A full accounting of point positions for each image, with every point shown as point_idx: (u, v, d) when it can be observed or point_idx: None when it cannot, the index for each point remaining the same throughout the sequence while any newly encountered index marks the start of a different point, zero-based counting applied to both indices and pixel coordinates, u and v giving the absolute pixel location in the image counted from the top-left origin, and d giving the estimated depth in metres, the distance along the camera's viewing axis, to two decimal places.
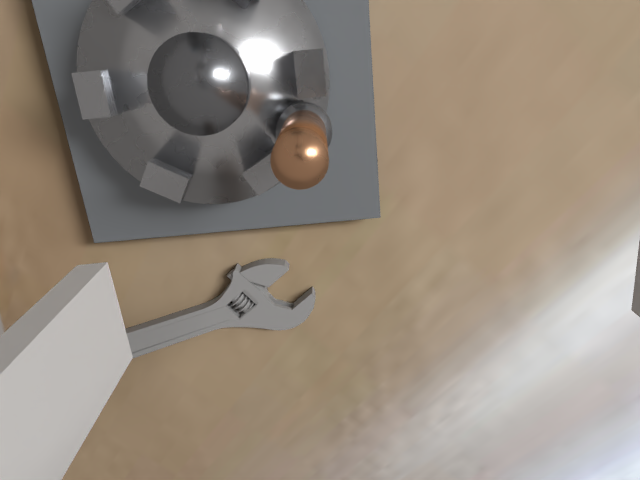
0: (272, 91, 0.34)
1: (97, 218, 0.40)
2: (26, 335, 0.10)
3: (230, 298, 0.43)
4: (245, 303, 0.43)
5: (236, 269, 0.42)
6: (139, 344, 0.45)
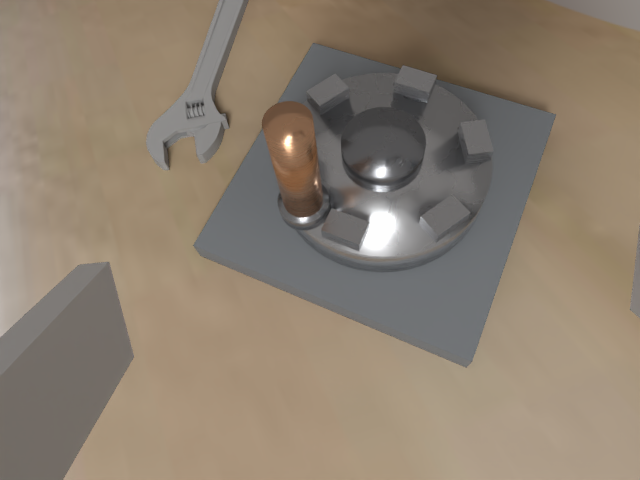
0: (348, 199, 0.38)
1: (329, 54, 0.47)
2: (28, 334, 0.10)
3: (206, 104, 0.47)
4: (194, 112, 0.47)
5: (225, 121, 0.46)
6: (219, 30, 0.51)
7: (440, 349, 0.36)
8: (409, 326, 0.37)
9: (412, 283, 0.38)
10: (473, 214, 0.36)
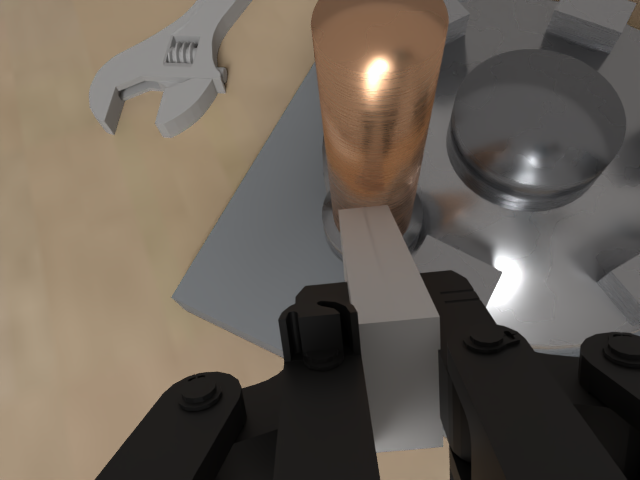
0: (455, 218, 0.20)
1: None
2: (367, 252, 0.12)
3: (200, 46, 0.29)
4: (179, 55, 0.29)
5: (219, 79, 0.28)
6: None
7: None
8: None
9: None
10: None
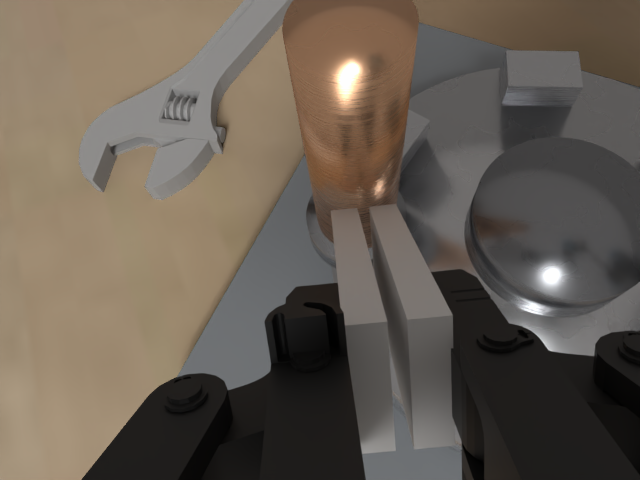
0: (432, 265, 0.19)
1: None
2: (358, 253, 0.12)
3: (199, 103, 0.28)
4: (176, 110, 0.28)
5: (215, 141, 0.27)
6: None
7: None
8: None
9: None
10: None
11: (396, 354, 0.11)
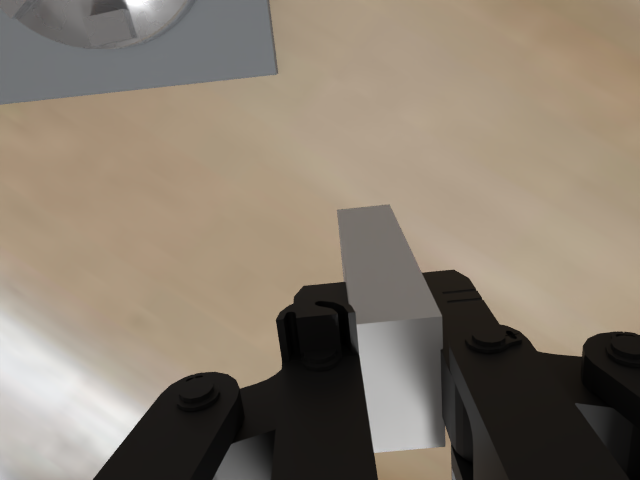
0: None
1: None
2: (366, 252, 0.12)
3: None
4: None
5: None
6: None
7: None
8: (213, 72, 0.40)
9: (194, 30, 0.39)
10: (146, 34, 0.36)
11: None
